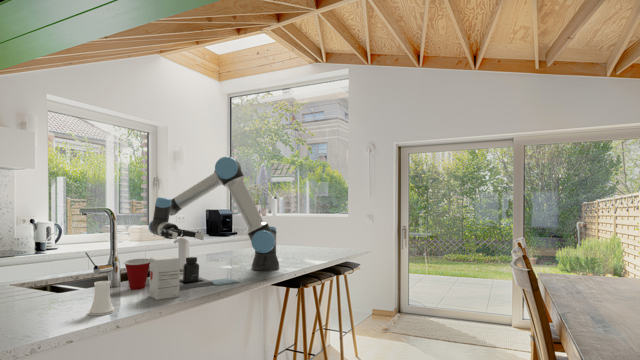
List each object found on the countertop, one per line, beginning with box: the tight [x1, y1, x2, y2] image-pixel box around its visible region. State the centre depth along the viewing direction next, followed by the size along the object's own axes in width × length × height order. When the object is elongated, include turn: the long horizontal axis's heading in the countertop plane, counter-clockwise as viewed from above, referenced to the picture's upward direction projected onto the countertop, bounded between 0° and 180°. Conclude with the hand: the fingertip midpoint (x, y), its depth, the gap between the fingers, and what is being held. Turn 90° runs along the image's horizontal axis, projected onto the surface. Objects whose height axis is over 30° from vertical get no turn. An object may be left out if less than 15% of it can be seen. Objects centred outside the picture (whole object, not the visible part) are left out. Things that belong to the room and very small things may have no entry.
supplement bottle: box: [182, 256, 200, 284], centre depth 183 cm, size 7×7×12 cm
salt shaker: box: [88, 280, 115, 317], centre depth 136 cm, size 8×8×10 cm
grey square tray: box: [179, 276, 213, 290], centre depth 182 cm, size 14×14×2 cm
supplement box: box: [148, 255, 181, 301], centre depth 160 cm, size 9×9×15 cm
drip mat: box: [208, 277, 240, 287], centre depth 187 cm, size 11×11×1 cm
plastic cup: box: [123, 258, 150, 291], centre depth 174 cm, size 11×11×12 cm
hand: (190, 236), depth 190 cm, fingers open, 13 cm apart
